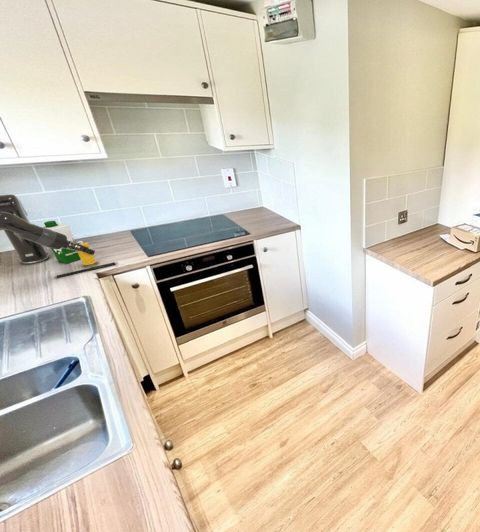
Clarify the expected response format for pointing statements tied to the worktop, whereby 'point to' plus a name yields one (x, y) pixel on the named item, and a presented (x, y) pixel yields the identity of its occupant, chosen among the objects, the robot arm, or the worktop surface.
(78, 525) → the worktop surface
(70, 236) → the milk carton
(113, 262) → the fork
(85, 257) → the mustard bottle
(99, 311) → the worktop surface
